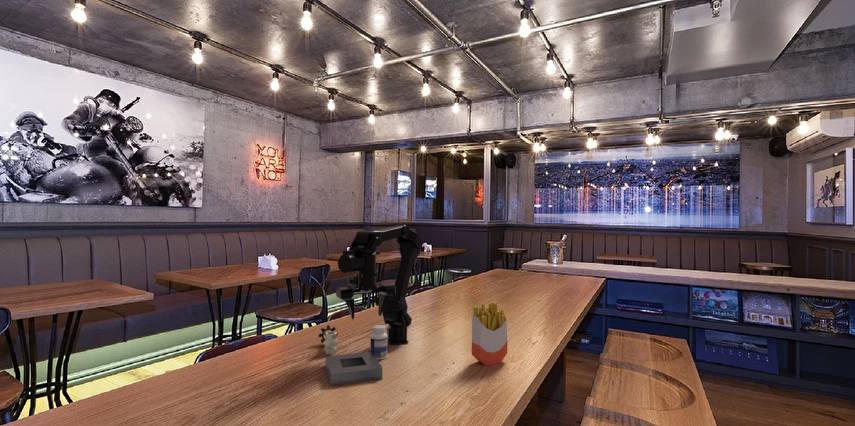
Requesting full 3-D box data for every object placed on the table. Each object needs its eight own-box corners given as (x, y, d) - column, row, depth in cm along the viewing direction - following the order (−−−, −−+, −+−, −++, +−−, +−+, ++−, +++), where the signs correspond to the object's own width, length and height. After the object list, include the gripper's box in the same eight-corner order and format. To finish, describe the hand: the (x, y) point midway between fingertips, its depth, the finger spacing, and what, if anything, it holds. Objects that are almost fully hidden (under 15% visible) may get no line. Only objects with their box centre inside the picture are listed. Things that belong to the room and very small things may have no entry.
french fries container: (508, 361, 122) (508, 304, 122) (480, 367, 116) (481, 307, 116) (498, 356, 125) (499, 301, 126) (471, 362, 120) (472, 304, 120)
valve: (341, 354, 126) (337, 342, 137) (342, 333, 126) (337, 324, 138) (320, 356, 124) (318, 344, 135) (321, 335, 124) (318, 325, 135)
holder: (371, 361, 120) (371, 351, 120) (382, 378, 107) (382, 368, 107) (325, 366, 115) (325, 356, 115) (330, 385, 102) (330, 374, 102)
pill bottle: (370, 354, 126) (371, 324, 126) (387, 353, 127) (387, 324, 127) (369, 360, 121) (370, 328, 121) (386, 359, 121) (387, 328, 121)
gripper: (383, 264, 137) (383, 308, 137) (331, 267, 128) (331, 315, 128) (397, 268, 127) (396, 316, 127) (341, 272, 118) (341, 323, 118)
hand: (366, 317), depth 125 cm, fingers open, 9 cm apart
